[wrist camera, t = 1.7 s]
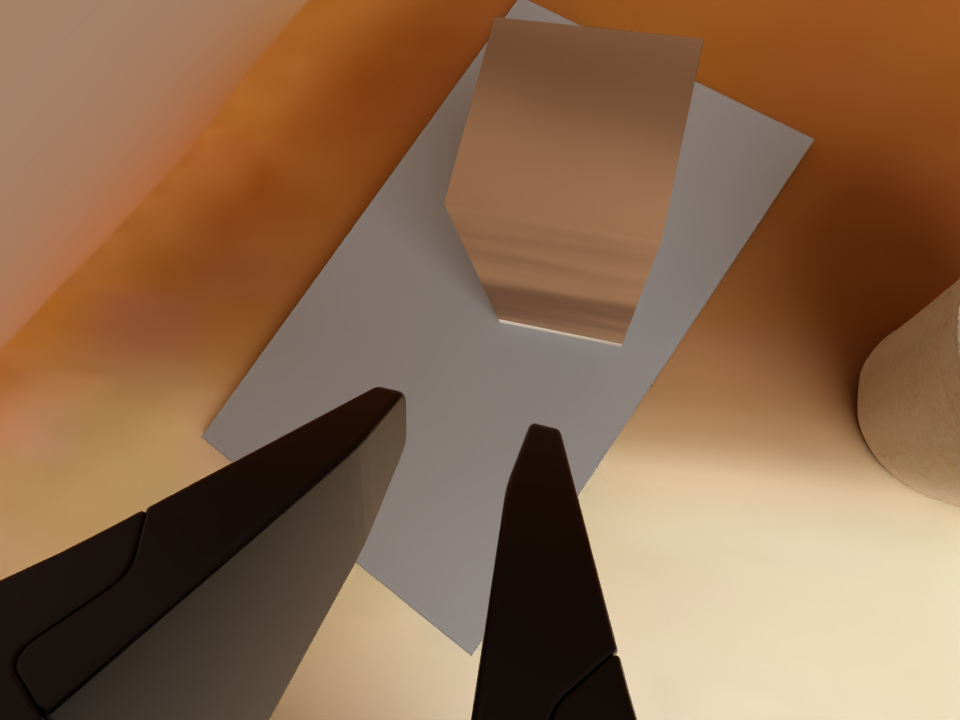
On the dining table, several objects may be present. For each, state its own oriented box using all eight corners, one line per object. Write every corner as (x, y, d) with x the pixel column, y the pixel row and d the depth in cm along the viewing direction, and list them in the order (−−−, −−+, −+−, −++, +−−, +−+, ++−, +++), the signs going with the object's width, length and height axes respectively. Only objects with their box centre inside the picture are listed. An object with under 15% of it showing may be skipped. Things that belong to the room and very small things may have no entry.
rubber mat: (473, 652, 21) (471, 655, 20) (207, 437, 24) (201, 437, 23) (810, 145, 22) (814, 139, 22) (520, 3, 25) (520, -4, 25)
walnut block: (621, 347, 21) (661, 241, 12) (499, 322, 22) (443, 203, 13) (646, 230, 22) (703, 39, 12) (527, 210, 23) (494, 17, 13)
